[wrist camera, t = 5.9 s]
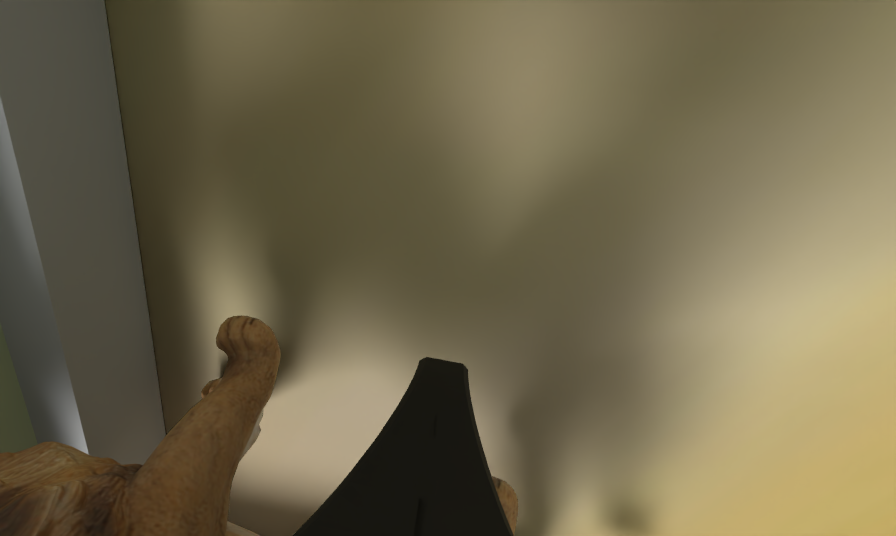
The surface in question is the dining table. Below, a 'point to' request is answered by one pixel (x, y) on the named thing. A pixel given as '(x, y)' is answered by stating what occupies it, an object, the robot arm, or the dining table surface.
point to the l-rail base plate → (69, 243)
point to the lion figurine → (161, 463)
